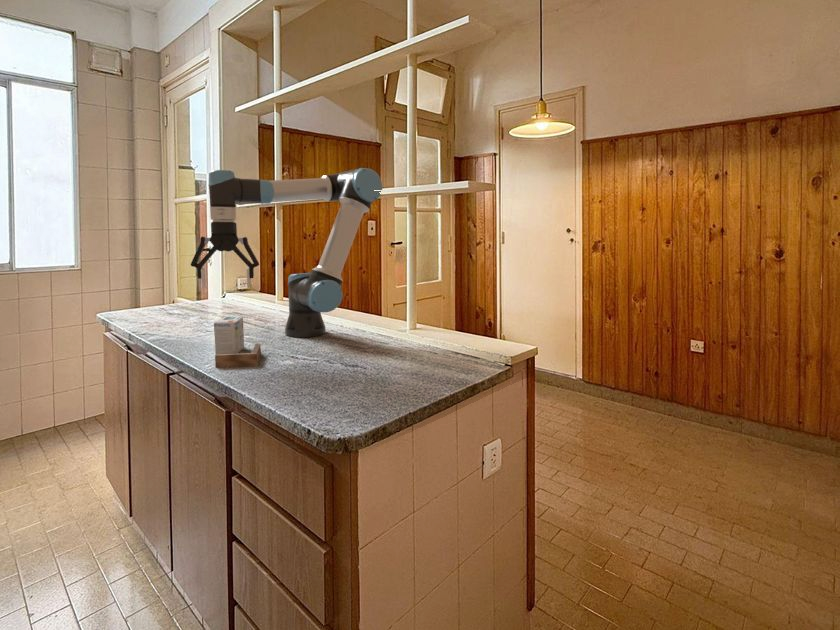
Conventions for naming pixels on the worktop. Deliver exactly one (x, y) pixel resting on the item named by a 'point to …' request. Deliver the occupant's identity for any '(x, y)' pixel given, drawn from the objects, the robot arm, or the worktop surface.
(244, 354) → the walnut corner fence
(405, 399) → the worktop surface
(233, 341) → the light bulb box
